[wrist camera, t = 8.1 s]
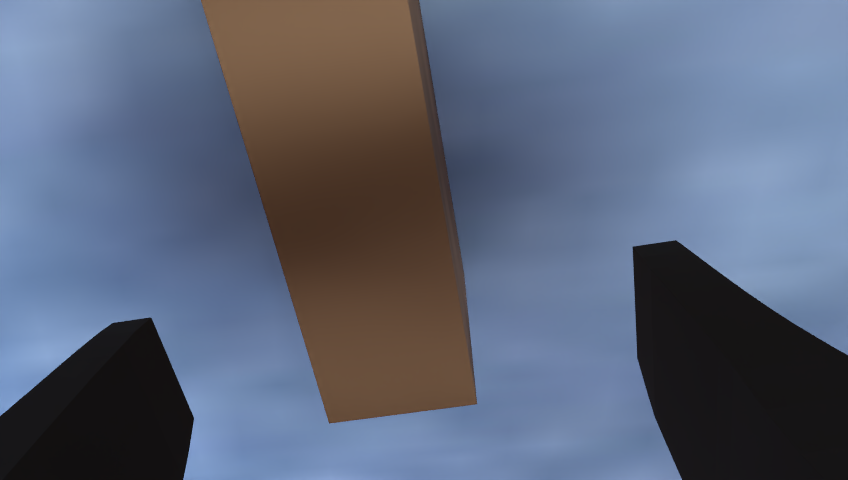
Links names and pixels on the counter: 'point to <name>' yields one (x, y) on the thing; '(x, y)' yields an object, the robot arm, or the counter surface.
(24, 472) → the robot arm
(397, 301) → the brown rectangular block
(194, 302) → the counter surface
